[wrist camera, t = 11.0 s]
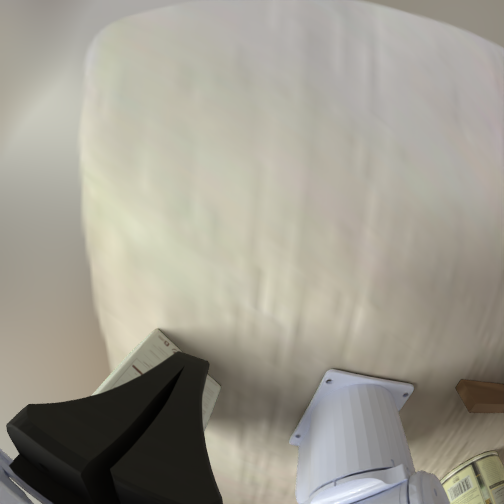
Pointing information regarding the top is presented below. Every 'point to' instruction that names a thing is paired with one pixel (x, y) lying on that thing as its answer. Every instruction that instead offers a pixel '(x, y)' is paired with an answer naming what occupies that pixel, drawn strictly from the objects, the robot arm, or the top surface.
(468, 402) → the holder
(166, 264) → the top surface
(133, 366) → the supplement box
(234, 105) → the top surface
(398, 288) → the top surface
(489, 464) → the coffee can
